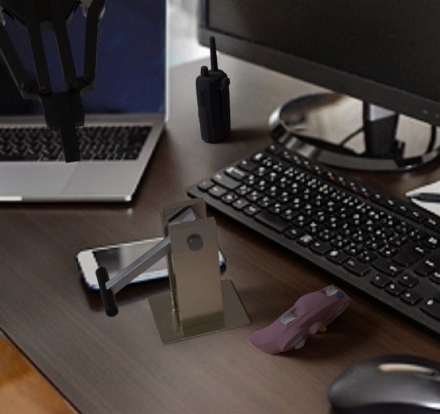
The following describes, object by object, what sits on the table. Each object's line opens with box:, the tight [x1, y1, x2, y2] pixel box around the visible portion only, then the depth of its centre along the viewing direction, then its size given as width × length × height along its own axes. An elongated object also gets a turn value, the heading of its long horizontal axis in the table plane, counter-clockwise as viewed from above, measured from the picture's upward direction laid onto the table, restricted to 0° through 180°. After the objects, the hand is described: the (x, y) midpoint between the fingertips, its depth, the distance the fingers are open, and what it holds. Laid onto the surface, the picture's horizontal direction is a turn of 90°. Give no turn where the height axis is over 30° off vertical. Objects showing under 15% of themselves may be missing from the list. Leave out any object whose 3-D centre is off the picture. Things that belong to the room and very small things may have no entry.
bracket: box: [146, 196, 251, 346], centre depth 83 cm, size 9×8×13 cm
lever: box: [94, 207, 201, 318], centre depth 81 cm, size 12×7×2 cm
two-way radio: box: [195, 35, 232, 144], centre depth 119 cm, size 6×4×15 cm
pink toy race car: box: [250, 284, 352, 355], centre depth 82 cm, size 10×5×7 cm, turn 136°
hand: (72, 157), depth 83 cm, fingers closed
